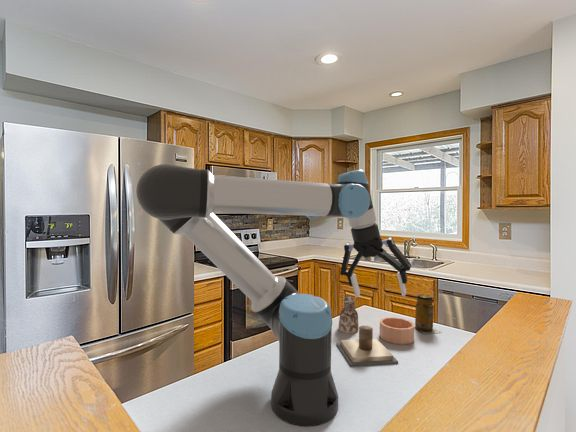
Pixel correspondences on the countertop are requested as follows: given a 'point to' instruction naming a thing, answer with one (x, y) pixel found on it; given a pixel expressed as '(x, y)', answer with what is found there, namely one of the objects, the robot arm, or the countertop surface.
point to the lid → (366, 347)
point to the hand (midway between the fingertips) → (380, 295)
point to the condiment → (424, 315)
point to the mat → (366, 361)
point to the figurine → (348, 316)
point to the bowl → (397, 330)
